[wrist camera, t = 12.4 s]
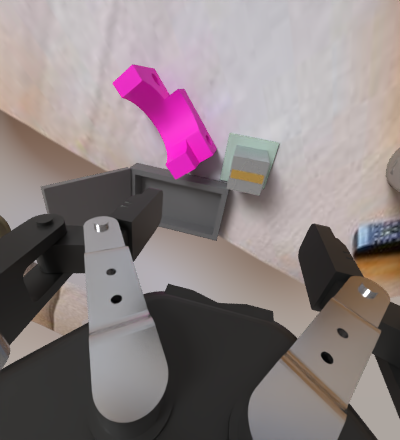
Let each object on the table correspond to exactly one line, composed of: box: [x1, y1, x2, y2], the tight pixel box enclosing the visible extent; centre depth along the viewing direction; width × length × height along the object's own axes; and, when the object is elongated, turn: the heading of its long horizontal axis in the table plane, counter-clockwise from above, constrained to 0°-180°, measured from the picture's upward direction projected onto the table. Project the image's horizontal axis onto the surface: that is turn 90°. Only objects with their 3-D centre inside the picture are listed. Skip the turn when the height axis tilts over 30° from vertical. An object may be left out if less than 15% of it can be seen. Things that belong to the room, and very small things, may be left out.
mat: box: [220, 133, 279, 189], centre depth 38 cm, size 8×8×1 cm
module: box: [226, 145, 270, 196], centre depth 35 cm, size 5×5×7 cm
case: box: [41, 163, 229, 241], centre depth 38 cm, size 24×11×16 cm, turn 81°
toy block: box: [113, 65, 217, 180], centre depth 34 cm, size 15×6×8 cm, turn 32°
